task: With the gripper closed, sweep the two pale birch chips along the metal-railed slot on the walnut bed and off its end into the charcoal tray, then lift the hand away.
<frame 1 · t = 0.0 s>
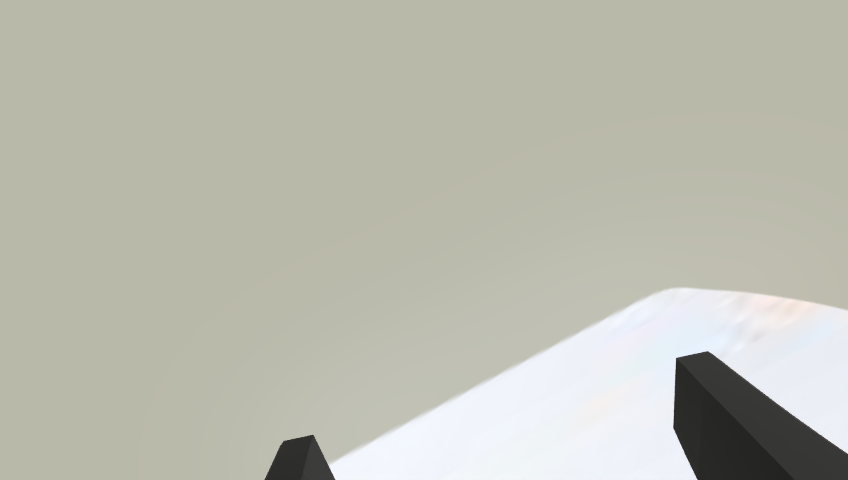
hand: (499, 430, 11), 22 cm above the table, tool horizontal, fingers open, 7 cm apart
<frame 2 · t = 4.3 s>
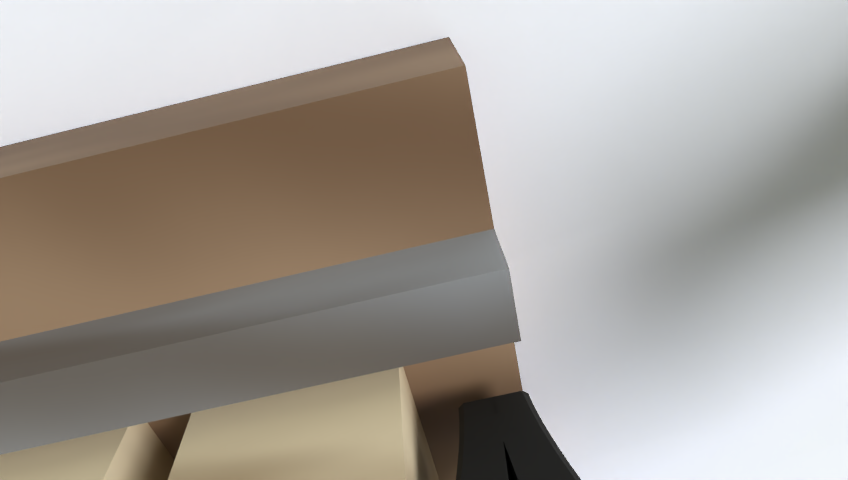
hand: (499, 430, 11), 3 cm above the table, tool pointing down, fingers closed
slot bed: (225, 395, 14), on the table
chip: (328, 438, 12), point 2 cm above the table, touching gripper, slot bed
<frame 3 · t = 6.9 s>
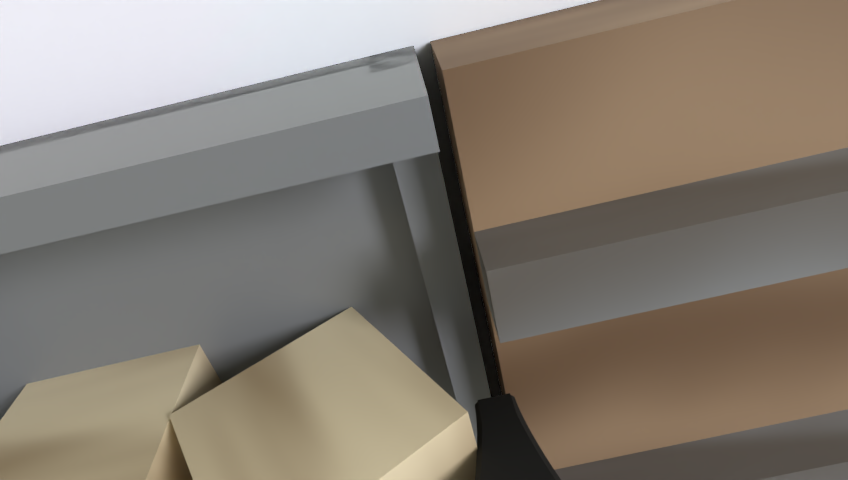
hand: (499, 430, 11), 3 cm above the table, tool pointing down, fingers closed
tray: (239, 390, 14), on the table
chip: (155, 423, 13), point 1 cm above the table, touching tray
slot bed: (780, 272, 13), on the table
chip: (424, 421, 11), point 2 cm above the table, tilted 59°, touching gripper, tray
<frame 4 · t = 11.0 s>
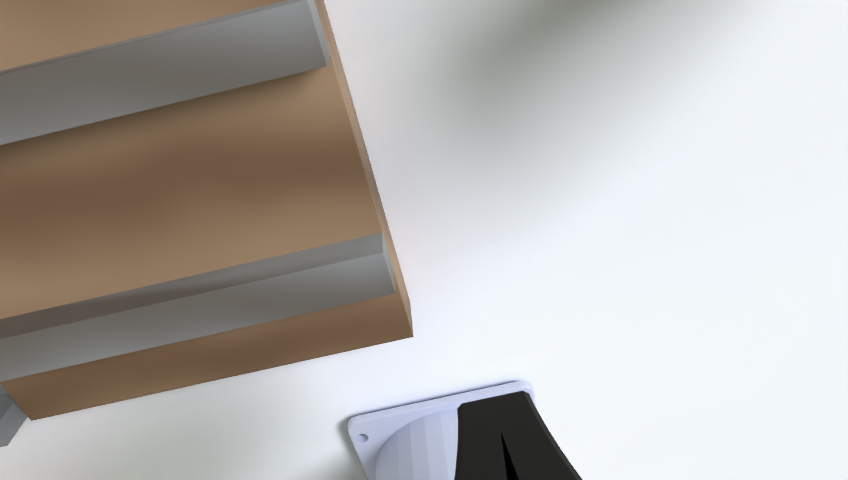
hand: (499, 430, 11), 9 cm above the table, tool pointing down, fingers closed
slot bed: (147, 178, 18), on the table
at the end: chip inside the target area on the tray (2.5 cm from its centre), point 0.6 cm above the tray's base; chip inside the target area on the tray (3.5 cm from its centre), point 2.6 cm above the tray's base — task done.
